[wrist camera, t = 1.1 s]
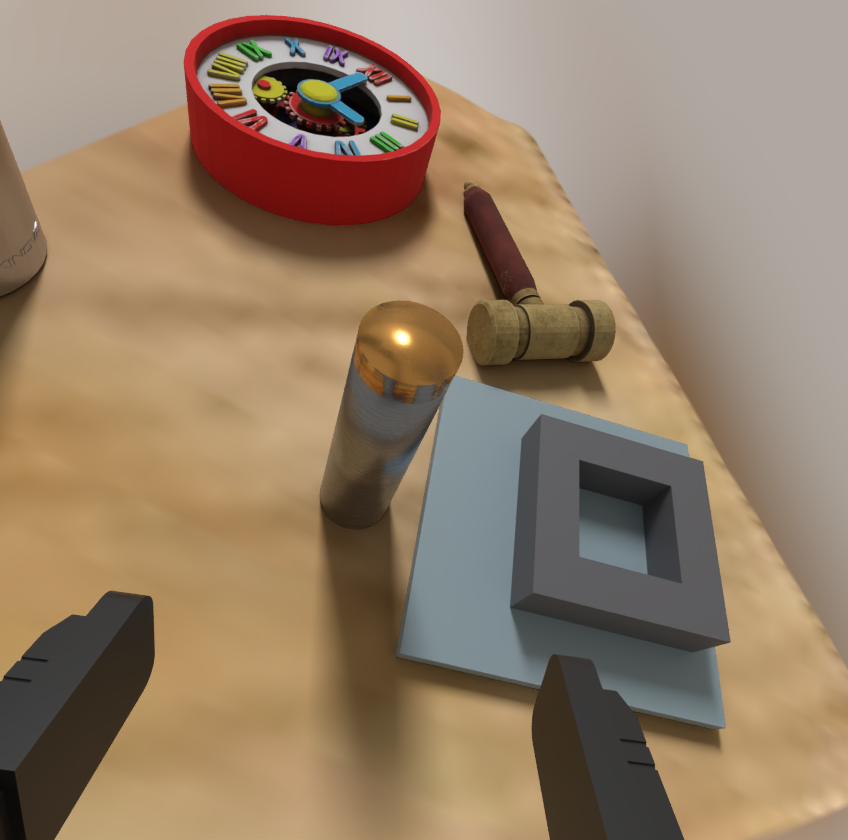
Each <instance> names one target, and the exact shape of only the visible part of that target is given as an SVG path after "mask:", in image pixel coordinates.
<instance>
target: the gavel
mask: <svg viewBox="0 0 848 840" xmlns="http://www.w3.org/2000/svg"><path fill="white" fill-rule="evenodd" d="M464 189H465V192H464V196H465V205H464V209H465V212H466V214H467V216H468V218H469V220H470V222H471V225H472V227H473V229H474V231H475V233H476V235H477V238H478V240H479V242H480V244H481V246H482V248H483V250H484V253H485V255H486V257H487V259H488V261H489V263H490V266H491V268H492V270H493V272H494V274H495V276H496V278H497V281H498V283H499V285H500V287H501V289H502V291H503V294H504V296H505V297H506V298H507V300H479V301H478V302H477V303H476V304H475V305H474V307H473V309H472V311H471V313H470V316H469V320H468V326H467V340H468V344H469V347H470V350H471V352H472V355H473V358H474V360H475V361H476V362H477V364H479V365H505V364H508V363H509V362H510V361H512V359H515V360H526V359H555V358H567V357H569V359H570V360H571V361H573V362H586V361H599V360H602V359H603V358H605V357H606V356H607V354H608V353H609V352H610V350H611V348H612V346H613V343H614V339H615V332H616V330H615V319H614V316H613V313H612V311H611V309H610V307H609V306H608V305H607V304H606V303H605V302H602V301H598V300H577V301H573V302H572V303H570V304H569V305H544V304H543V302H542V300H541V299H540V297H539V295H538V293H537V289H536V286H535V282H534V279H533V277H532V275H531V273H530V271H529V269H528V267H527V265H526V263H525V261H524V259H523V258H522V256H521V254H520V252H519V250H518V248H517V246H516V244H515V242H514V240H513V238H512V236H511V234H510V232H509V230H508V228H507V227H506V225H505V223H504V221H503V219H502V217H501V215H500V213H499V211H498V209H497V207H496V205H495V203H494V201H493V199H492V198H491V196H490V194H489V193H487V192H486V191H484V190H482V189H481V188H480V187H479V186H478V185H475V184H474V182H473V181H471V180H468V181H466V182H465V184H464Z"/></svg>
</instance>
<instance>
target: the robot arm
mask: <svg viewBox="0 0 848 840" xmlns="http://www.w3.org/2000/svg"><path fill="white" fill-rule="evenodd" d="M46 253H47V245H46V239H45V236H44V234H43V231H42V228H41V226H40V223H39V221H38V218H37V215H36V213H35V210H34V208H33V205H32V202H31V200H30V197H29V195H28V192H27V189H26V186H25V183H24V181H23V178H22V176H21V173H20V170H19V168H18V166H17V163H16V160H15V158H14V155H13V152H12V150H11V147H10V145H9V142H8V140H7V137H6V135H5V132H4V129H3V127H2V124H1V121H0V296H3V295H5V294H7V293H10V292H12V291H14V290H15V289H17V288H19V287H20V286H22V285H23V284H25V283H27V282H28V281H29V280H30V279H31V278H32V277H33V276H34V275H35V274H36V273H37V272H38V271H39V269H40V267H41V266H42V264H43V263H44V260H45V257H46ZM154 657H155V647H154V614H153V600H152V598H151V597H150V596H145V595H138V594H131V593H124V592H117V591H109V592H107V593H106V594H105V595H104V596H103V597H102V598H101V599H100V600H99V601H98V602H97V604H96V605H95V606H94V607H93V608H92V610H91V611H90V612H89V613H88V614H87V615H86V616H80V615H71V616H69V617H68V618H66V619H65V620H63V621H61V622H60V623H58V624H57V625H55V626H53V627H52V628H50V629H49V630H47V631H45V632H44V633H43V634H42V635H41V636H40V637H39V638H38V639H37V640H36V641H35V642H34V644H33V645H32V646H31V647H30V648H29V649H28V650H27V651H26V652H25V653H24V655H23V656H22V658H21V660H20V661H17V662H16V663H15V664H14V666H13V667H12V668H11V669H10V670H9V671H8V672H7V673H6V674H5V675H4V678H3V680H2V681H0V840H54V839H55V838H56V836H57V834H58V833H59V831H60V829H61V828H62V826H63V824H64V823H65V821H66V819H67V818H68V816H69V814H70V813H71V811H72V809H73V807H74V806H75V804H76V802H77V801H78V799H79V797H80V796H81V794H82V792H83V791H84V789H85V787H86V786H87V784H88V782H89V781H90V779H91V777H92V776H93V774H94V772H95V771H96V769H97V767H98V766H99V764H100V762H101V761H102V759H103V757H104V756H105V754H106V752H107V751H108V749H109V747H110V746H111V744H112V742H113V741H114V739H115V737H116V736H117V734H118V732H119V731H120V729H121V727H122V726H123V724H124V722H125V721H126V719H127V717H128V716H129V714H130V712H131V711H132V709H133V707H134V706H135V704H136V702H137V701H138V699H139V697H140V696H141V694H142V692H143V691H144V689H145V687H146V685H147V683H148V680H149V678H150V675H151V672H152V668H153V664H154ZM532 741H533V747H534V753H535V758H536V764H537V770H538V775H539V781H540V786H541V792H542V798H543V803H544V809H545V814H546V820H547V826H548V831H549V837H550V840H684V838H683V835H682V832H681V830H680V827H679V825H678V822H677V820H676V817H675V814H674V812H673V809H672V807H671V804H670V802H669V799H668V796H667V794H666V791H665V789H664V786H663V784H662V781H661V778H660V776H659V773H658V771H657V770H655V763H654V760H653V758H652V755H651V753H650V750H649V748H648V747H646V740H645V737H644V735H643V732H642V730H641V727H640V725H639V722H638V719H637V717H636V715H635V713H634V712H633V711H632V710H631V708H630V707H629V706H628V705H627V703H626V702H625V701H624V700H623V698H622V697H621V696H620V694H619V693H618V692H617V691H614V690H606V689H603V688H602V686H601V683H600V680H599V677H598V674H597V671H596V668H595V665H594V663H593V662H592V660H590V659H587V658H580V657H572V656H565V655H558V654H553V655H552V656H551V657H550V659H549V662H548V665H547V668H546V671H545V674H544V677H543V681H542V684H541V687H540V690H539V693H538V696H537V700H536V703H535V706H534V710H533V716H532Z"/></svg>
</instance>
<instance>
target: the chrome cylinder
mask: <svg viewBox="0 0 848 840" xmlns="http://www.w3.org/2000/svg"><path fill="white" fill-rule="evenodd" d="M462 358H463V345H462V341H461V338H460V336H459V334H458V332H457V330H456V329H455V327H454V326H453V325H452V324H451V322H450V321H449V320H448V319H446V318H445V317H444V316H443V315H442V314H440V313H439V312H437V311H435V310H434V309H432V308H430V307H428V306H425V305H422V304H419V303H415V302H410V301H391V302H386V303H382V304H380V305H378V306H376V307H374V308H372V309H371V310H370V311H369V312H368V313H367V314H366V315H365V316H364V317H363V319H362V321H361V323H360V325H359V330H358V334H357V338H356V342H355V346H354V351H353V355H352V359H351V363H350V367H349V372H348V376H347V380H346V384H345V388H344V393H343V397H342V401H341V405H340V409H339V414H338V418H337V422H336V426H335V430H334V435H333V439H332V443H331V447H330V451H329V456H328V460H327V464H326V468H325V472H324V477H323V481H322V485H321V489H320V501H321V505H322V508H323V510H324V512H325V513H326V514H327V516H328V517H329V518H330V519H331V520H332V521H334V522H335V523H337V524H338V525H341V526H343V527H346V528H351V529H361V528H366V527H369V526H371V525H373V524H375V523H376V522H378V521H379V520H380V519H381V518H382V516H383V515H384V514H385V512H386V510H387V508H388V506H389V504H390V502H391V500H392V498H393V496H394V494H395V492H396V490H397V488H398V486H399V484H400V482H401V480H402V478H403V476H404V475H405V473H406V471H407V469H408V467H409V465H410V463H411V461H412V459H413V457H414V455H415V453H416V451H417V449H418V447H419V445H420V443H421V441H422V439H423V437H424V435H425V433H426V431H427V429H428V427H429V425H430V423H431V421H432V419H433V417H434V415H435V414H436V412H437V410H438V408H439V406H440V404H441V402H442V400H443V398H444V396H445V394H446V392H447V390H448V388H449V386H450V384H451V382H452V380H453V378H454V376H455V374H456V372H457V370H458V368H459V366H460V364H461V362H462Z"/></svg>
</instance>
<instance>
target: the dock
mask: <svg viewBox="0 0 848 840" xmlns="http://www.w3.org/2000/svg"><path fill="white" fill-rule="evenodd" d="M726 643H730V635H729V629H728V622H727V616H726V609H725V603H724V596H723V589H722V583H721V576H720V570H719V563H718V557H717V550H716V544H715V537H714V531H713V524H712V518H711V511H710V504H709V498H708V491H707V485H706V478H705V472H704V465H703V461H700V460H696V459H693V458H689V454H688V446H687V444H683V443H680V442H677V441H673V440H670V439H667V438H663V437H660V436H657V435H653V434H650V433H646V432H643V431H640V430H636V429H633V428H630V427H626V426H623V425H620V424H616V423H613V422H610V421H606V420H603V419H599V418H596V417H593V416H589V415H586V414H583V413H579V412H576V411H573V410H569V409H566V408H563V407H559V406H556V405H552V404H549V403H546V402H542V401H539V400H536V399H532V398H529V397H526V396H522V395H519V394H516V393H512V392H509V391H505V390H502V389H499V388H495V387H492V386H489V385H485V384H482V383H479V382H475V381H472V380H469V379H465V378H462V377H458V376H454V378H453V380H452V382H451V384H450V386H449V388H448V390H447V392H446V394H445V396H444V398H443V400H442V402H441V404H440V409H439V415H438V420H437V426H436V432H435V437H434V443H433V448H432V454H431V460H430V465H429V471H428V477H427V482H426V488H425V493H424V499H423V505H422V510H421V516H420V522H419V527H418V533H417V538H416V544H415V550H414V555H413V561H412V567H411V572H410V578H409V583H408V589H407V595H406V600H405V606H404V612H403V617H402V623H401V628H400V634H399V640H398V645H397V651H396V657H399V658H403V659H408V660H412V661H417V662H421V663H425V664H430V665H434V666H438V667H443V668H447V669H452V670H456V671H460V672H465V673H469V674H473V675H478V676H482V677H487V678H491V679H495V680H500V681H504V682H508V683H513V684H517V685H522V686H526V687H530V688H535V689H539V690H540V687H541V684H542V681H543V677H544V674H545V671H546V668H547V665H548V662H549V659H550V657H551V656H552V655H553V654H558V655H565V656H572V657H580V658H587V659H590V660H592V662H593V663H594V665H595V668H596V671H597V674H598V677H599V680H600V683H601V686H602V688H603V689H606V690H614V691H617V692H618V693H619V694H620V696H621V697H622V698H623V700H624V701H625V702H626V703H627V705H628V706H629V707H630V708H631V710H632V711H635V712H640V713H644V714H649V715H653V716H657V717H662V718H666V719H670V720H675V721H679V722H684V723H688V724H692V725H697V726H701V727H705V728H710V729H721V728H726V724H725V717H724V709H723V702H722V695H721V687H720V680H719V673H718V665H717V658H716V651H715V646H719V645H722V644H726Z"/></svg>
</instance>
